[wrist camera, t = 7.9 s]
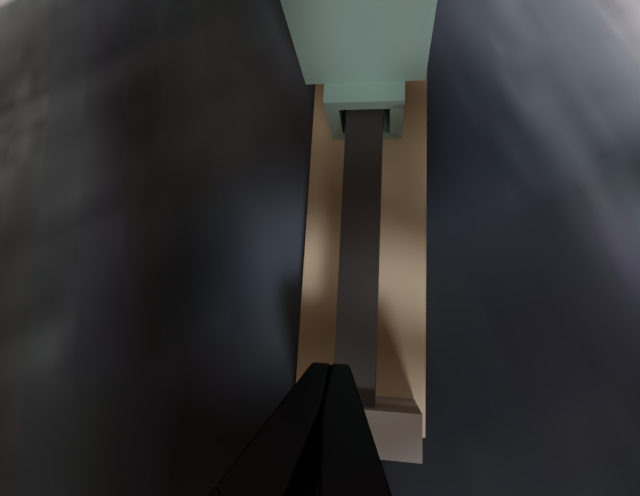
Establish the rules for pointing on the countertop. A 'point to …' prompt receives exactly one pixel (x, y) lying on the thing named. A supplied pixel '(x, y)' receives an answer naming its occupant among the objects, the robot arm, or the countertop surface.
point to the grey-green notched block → (362, 54)
